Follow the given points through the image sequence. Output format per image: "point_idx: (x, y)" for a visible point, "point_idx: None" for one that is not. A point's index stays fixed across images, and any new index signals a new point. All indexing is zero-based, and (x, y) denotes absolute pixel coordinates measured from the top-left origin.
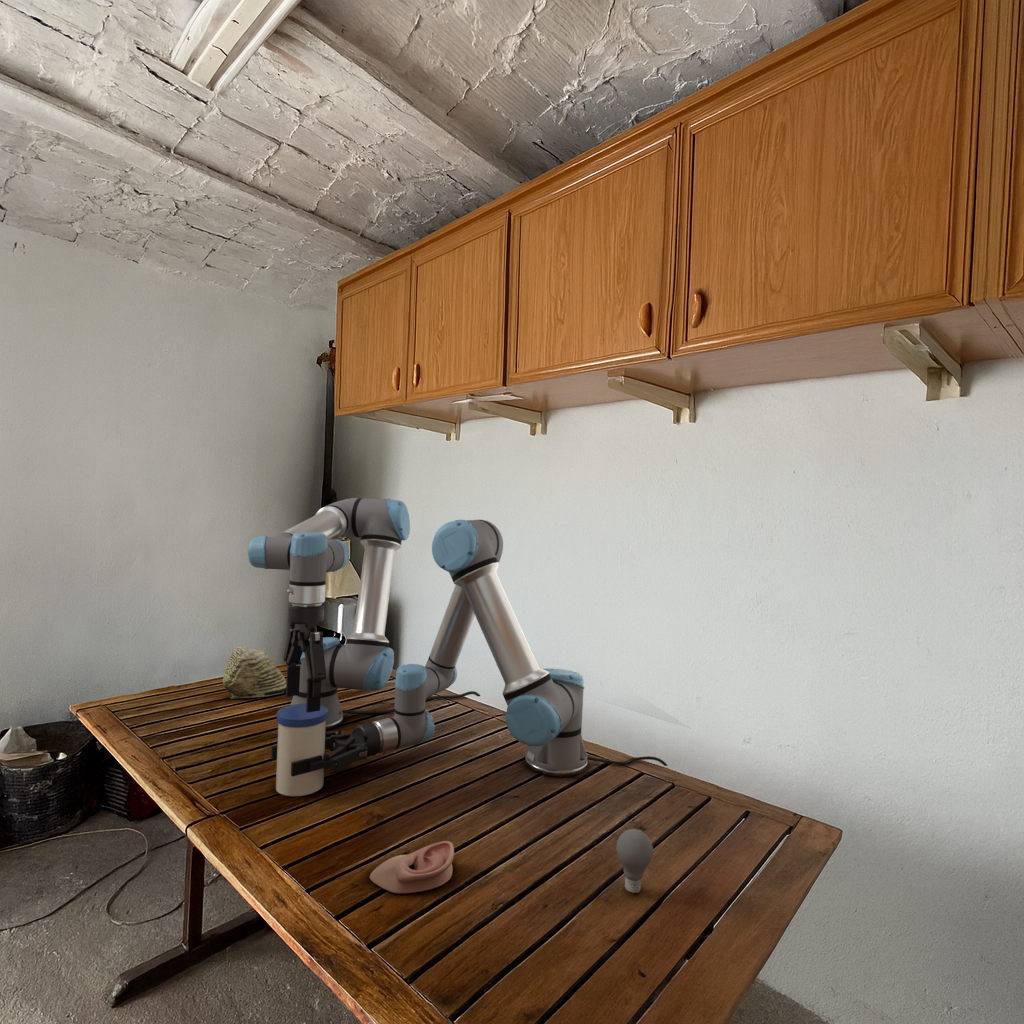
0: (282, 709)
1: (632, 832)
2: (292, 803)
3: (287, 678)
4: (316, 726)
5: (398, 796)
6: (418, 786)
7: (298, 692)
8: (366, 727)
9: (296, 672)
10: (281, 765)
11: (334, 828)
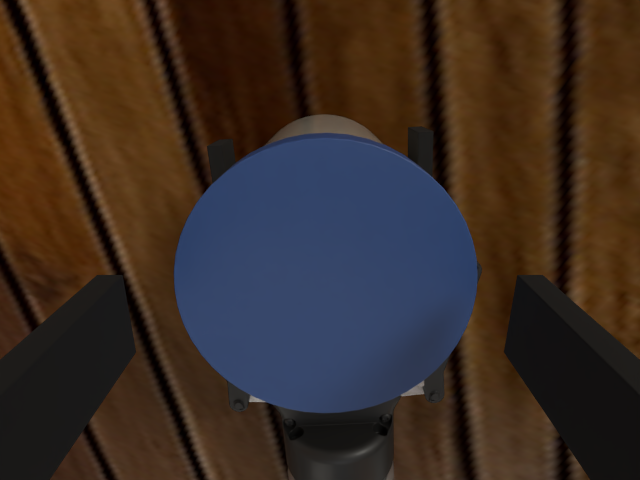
0: (428, 202)
1: None
2: (222, 128)
3: (614, 357)
4: None
5: (132, 369)
6: (162, 426)
7: (513, 359)
8: (319, 468)
9: (614, 473)
10: (296, 126)
11: (28, 175)
